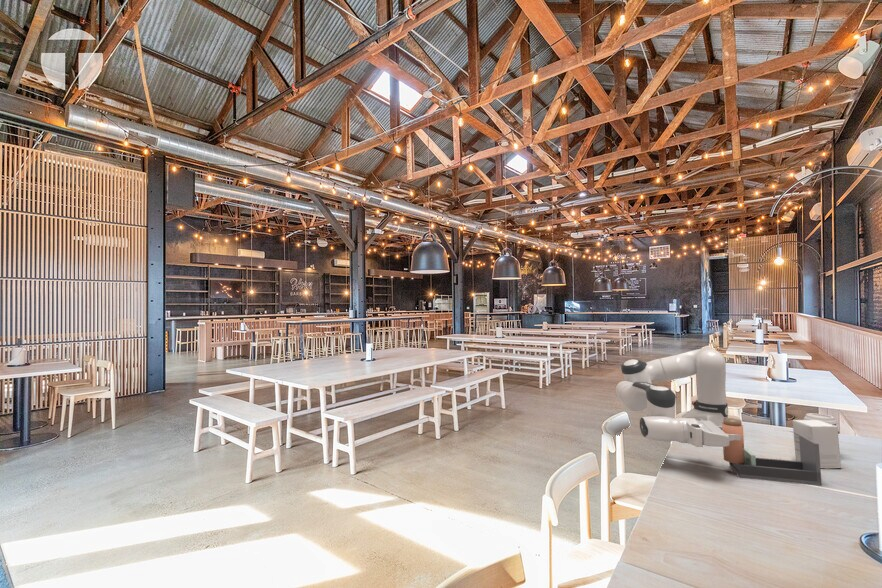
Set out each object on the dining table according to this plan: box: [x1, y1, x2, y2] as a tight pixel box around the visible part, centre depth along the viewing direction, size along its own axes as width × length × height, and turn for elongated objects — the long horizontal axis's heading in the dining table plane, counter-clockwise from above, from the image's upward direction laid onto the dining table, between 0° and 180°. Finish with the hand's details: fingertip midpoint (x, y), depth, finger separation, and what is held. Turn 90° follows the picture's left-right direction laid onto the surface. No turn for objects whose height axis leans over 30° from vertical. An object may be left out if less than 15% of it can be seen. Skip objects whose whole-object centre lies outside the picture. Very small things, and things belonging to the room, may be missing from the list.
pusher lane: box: [728, 435, 822, 486], centre depth 136 cm, size 22×10×13 cm, turn 70°
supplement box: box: [792, 419, 842, 469], centre depth 145 cm, size 9×9×15 cm
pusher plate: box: [744, 447, 757, 466], centre depth 138 cm, size 1×7×6 cm, turn 160°
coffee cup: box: [803, 412, 839, 426], centre depth 154 cm, size 10×10×15 cm
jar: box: [722, 417, 745, 464], centre depth 139 cm, size 6×6×14 cm
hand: (735, 434), depth 139 cm, fingers closed on jar, 6 cm apart
